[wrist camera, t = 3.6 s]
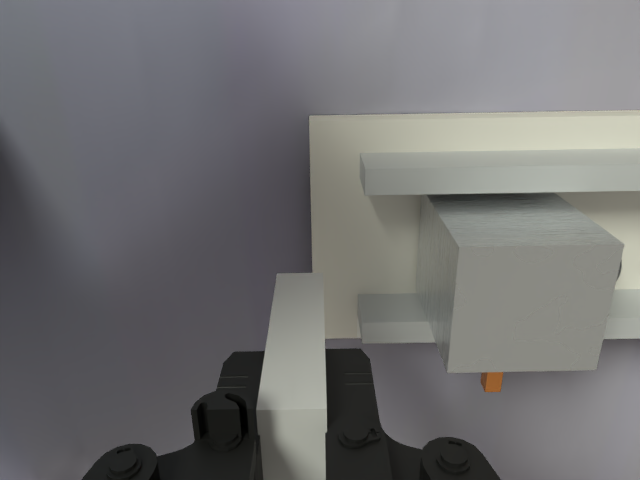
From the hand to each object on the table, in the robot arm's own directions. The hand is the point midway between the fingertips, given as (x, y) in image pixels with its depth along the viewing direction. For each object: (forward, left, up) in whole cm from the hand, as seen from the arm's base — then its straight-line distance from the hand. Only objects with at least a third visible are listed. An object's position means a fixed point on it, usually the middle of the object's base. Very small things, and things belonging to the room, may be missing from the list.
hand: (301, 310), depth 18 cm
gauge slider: (+8, -1, -5) cm, 10 cm away
